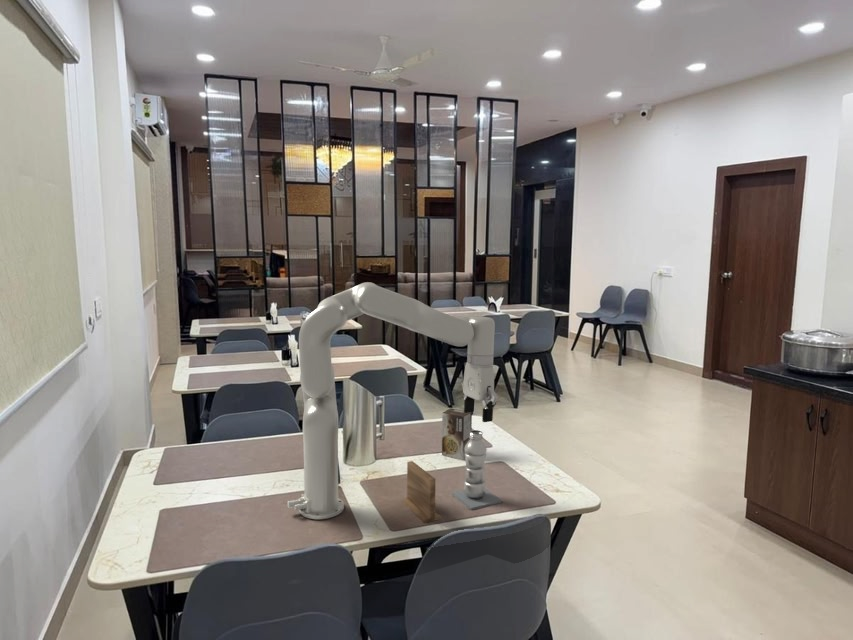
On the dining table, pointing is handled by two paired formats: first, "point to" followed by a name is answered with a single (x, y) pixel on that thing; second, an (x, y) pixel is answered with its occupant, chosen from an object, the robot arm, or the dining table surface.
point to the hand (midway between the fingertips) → (477, 416)
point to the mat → (476, 499)
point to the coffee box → (455, 432)
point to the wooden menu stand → (420, 493)
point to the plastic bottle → (475, 465)
